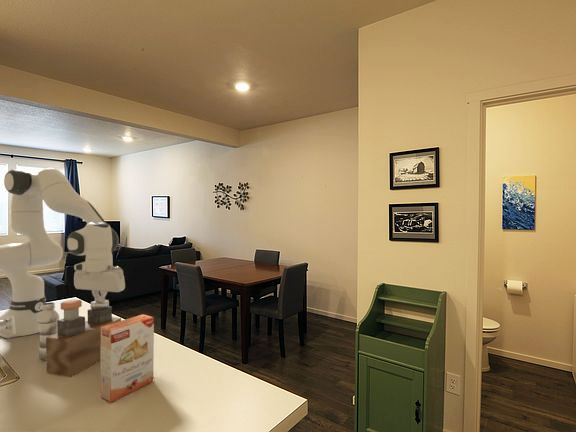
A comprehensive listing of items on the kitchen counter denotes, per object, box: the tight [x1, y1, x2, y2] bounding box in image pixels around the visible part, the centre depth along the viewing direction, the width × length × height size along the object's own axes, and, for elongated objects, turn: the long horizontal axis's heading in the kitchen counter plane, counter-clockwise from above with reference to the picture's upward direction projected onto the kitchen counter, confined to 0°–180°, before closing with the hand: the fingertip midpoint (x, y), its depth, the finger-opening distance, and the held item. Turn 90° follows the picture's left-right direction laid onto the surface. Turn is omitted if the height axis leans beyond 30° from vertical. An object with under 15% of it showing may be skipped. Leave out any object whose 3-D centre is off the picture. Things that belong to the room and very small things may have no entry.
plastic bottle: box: [37, 301, 60, 361], centre depth 120 cm, size 6×7×20 cm
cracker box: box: [100, 313, 155, 403], centre depth 100 cm, size 14×6×21 cm, turn 148°
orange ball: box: [60, 299, 83, 321], centre depth 112 cm, size 6×6×6 cm
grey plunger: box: [89, 299, 110, 310], centre depth 124 cm, size 6×6×6 cm
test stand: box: [46, 305, 122, 378], centre depth 118 cm, size 10×22×17 cm, turn 165°
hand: (99, 301), depth 124 cm, fingers closed, pressing on grey plunger
